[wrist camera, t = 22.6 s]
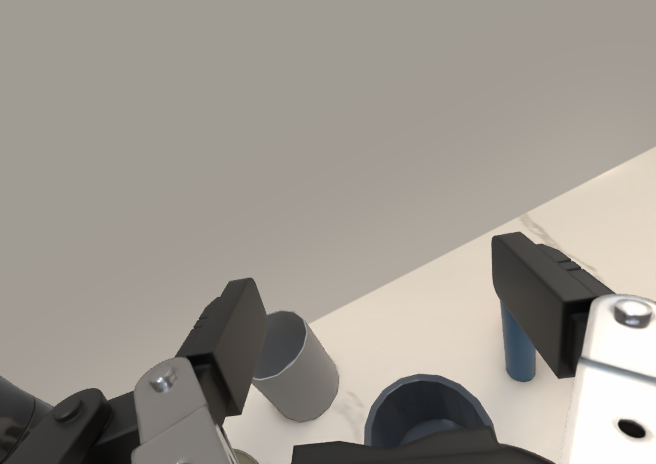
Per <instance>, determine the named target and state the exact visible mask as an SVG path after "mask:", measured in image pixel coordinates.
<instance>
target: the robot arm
mask: <svg viewBox="0 0 656 464" xmlns="http://www.w3.org/2000/svg"><path fill="white" fill-rule="evenodd" d="M492 278H493V285H494V288H495V291H496V293H497V296H498V297H499V299H500V300H501V301H502V303H503V304H504V306H505V307H506V308H507V310H508V311H509V312H510V314H511V315H512V316H513V318H514V319H515V321H516V322H517V323H518V325H519V326H520V327H521V329H522V330H523V331H524V333H525V334H526V336H527V337H528V338H529V340H530V341H531V342H532V344H533V345H534V346H535V348H536V349H537V351H538V352H539V353H540V355H541V356H542V357H543V359H544V360H545V361H546V363H547V364H548V366H549V367H550V368H551V370H552V371H553V372H554V374H555V375H556V376H557V378H558V379H561V378H570V377H575V381H574V386H573V391H572V396H571V401H570V407H569V412H568V417H567V422H566V427H565V432H564V438H563V443H562V448H561V453H560V458H559V464H656V302H655V301H653V300H650V299H647V298H643V297H639V296H635V295H628V294H616V293H614V292H613V291H612V290H610V289H609V288H608V287H607V286H605V285H604V284H603V283H601V282H600V281H599V280H597V279H596V278H595V277H593V276H592V275H591V274H589V273H588V272H587V271H586V270H584V269H581V267H580V266H579V265H578V264H576V263H575V262H574V261H571V259H570V258H568V257H567V256H566V255H565V254H563V253H562V252H561V251H559V250H557V249H554V248H552V247H549V246H546V245H544V244H537V245H536V244H535V243H533V242H532V241H531V240H530V239H529V238H527V237H526V236H525V235H524V234H522V233H521V232H514V233H508V234H502V235H497V236H493V238H492ZM267 330H268V319H267V314H266V311H265V308H264V306H263V303H262V300H261V297H260V294H259V292H258V289H257V286H256V283H255V281H254V280H253V279H252V278H245V279H239V280H233V281H230V282H229V283H228V284H227V286H226V288H225V289H224V291H223V293H222V295H221V296H220V297H217V298H216V299H215V300H214V301H212V302H211V303H210V304H209V305H208V306H207V307H206V308H205V310H204V311H203V313H202V314H201V316H200V317H199V320H198V321H197V322H196V324H195V326H194V329H192V330H191V332H190V334H189V335H188V337H187V338H186V340H185V342H184V343H183V345H182V346H181V348H180V350H179V351H178V353H177V354H176V356H175V357H174V358H171V359H168V360H165V361H163V362H161V363H159V364H157V365H156V366H154V367H153V368H151V369H150V370H149V371H147V372H146V373H145V374H144V375H143V376H142V377H141V378H140V380H139V381H138V383H137V385H136V386H135V389H134V391H132V392H129V393H126V394H124V395H121V396H119V397H116V398H113V399H111V400H108V401H107V399H106V398H105V396H104V395H103V393H102V392H101V391H100V390H99V389H96V388H91V389H86V390H82V391H80V392H77V393H75V394H73V395H71V396H69V397H68V398H66V399H65V400H63V401H62V402H60V403H59V404H57V405H56V406H55V407H53V406H51V405H50V404H48V403H45V402H44V401H42V400H40V399H38V398H36V397H34V396H32V395H31V394H29V393H27V392H25V391H23V390H21V389H19V388H18V387H16V386H15V385H13V384H12V383H10V382H9V381H7V380H6V379H4V378H3V377H2V376H0V464H239V462H238V460H237V458H236V456H235V453H234V451H233V449H232V446H231V444H230V442H229V440H228V437H227V435H226V433H225V431H224V429H223V427H222V425H223V423H224V420H225V417H228V416H237V415H241V414H242V411H243V407H244V404H245V401H246V398H247V395H248V391H249V388H250V385H251V382H252V379H253V375H254V372H255V369H256V366H257V363H258V359H259V356H260V353H261V350H262V347H263V343H264V340H265V337H266V334H267ZM291 464H555V463H554V462H552V461H550V460H548V459H546V458H544V457H542V456H540V455H537V454H535V453H533V452H530V451H527V450H525V449H522V448H519V447H515V446H511V445H507V444H501V443H498V441H497V439H496V437H495V434H494V432H493V430H492V427H491V425H489V426H479V427H469V428H460V429H450V430H441V431H437V432H434V433H432V434H429V435H427V436H424V437H421V438H419V439H416V440H413V441H411V442H408V443H406V444H403V445H400V446H398V447H395V448H390V449H386V448H379V447H373V446H367V445H361V444H355V443H349V442H343V441H334V442H325V443H315V444H305V445H296V446H294V448H293V455H292V462H291Z"/></svg>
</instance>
